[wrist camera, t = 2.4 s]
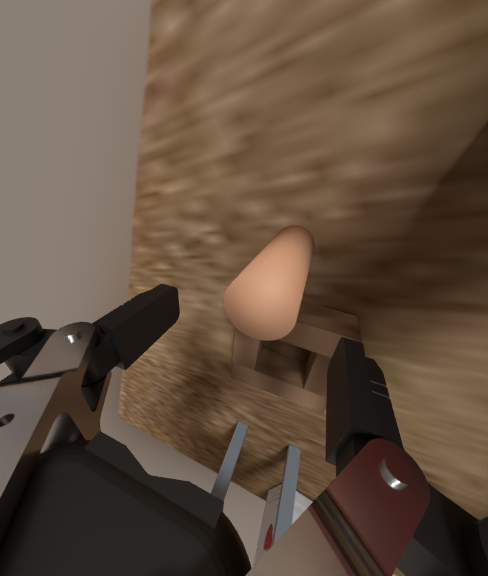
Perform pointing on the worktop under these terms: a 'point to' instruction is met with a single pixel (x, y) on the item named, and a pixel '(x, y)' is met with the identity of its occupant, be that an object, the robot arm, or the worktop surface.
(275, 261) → the peg
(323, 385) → the socket block
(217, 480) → the grey u-shaped bracket
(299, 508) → the supplement box
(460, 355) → the worktop surface
